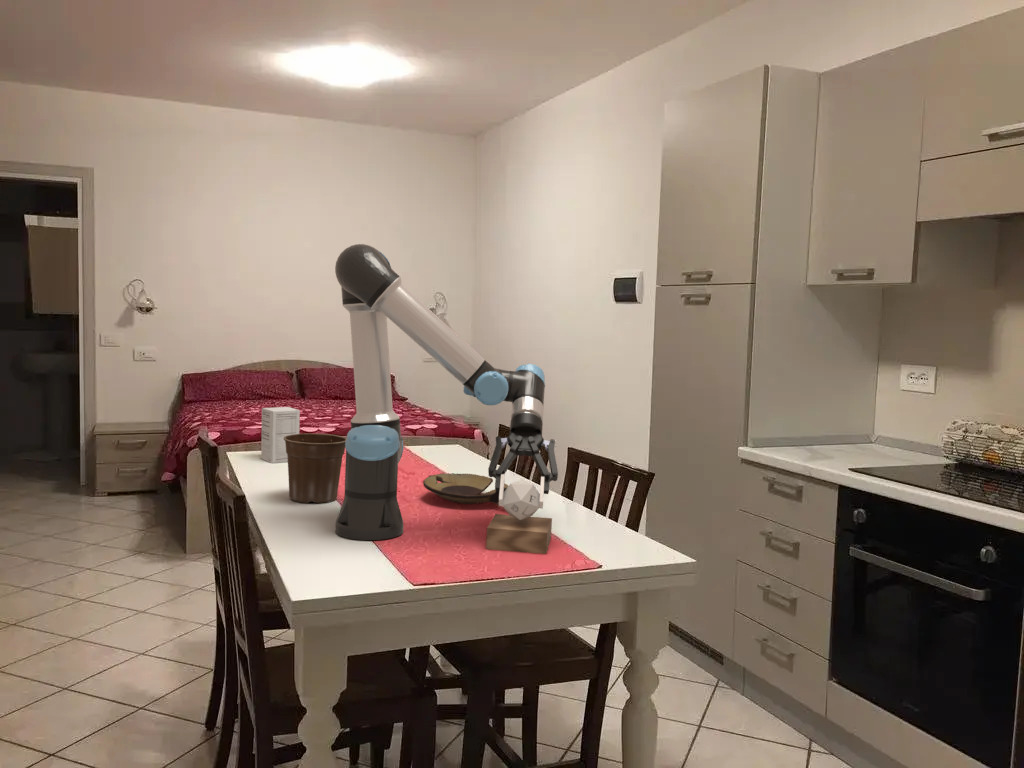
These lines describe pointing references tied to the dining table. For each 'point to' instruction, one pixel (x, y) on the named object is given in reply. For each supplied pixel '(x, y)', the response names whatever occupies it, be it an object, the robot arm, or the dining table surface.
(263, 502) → the dining table surface
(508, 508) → the die
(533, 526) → the walnut block
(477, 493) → the oil lamp
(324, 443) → the plant pot
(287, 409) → the supplement box
